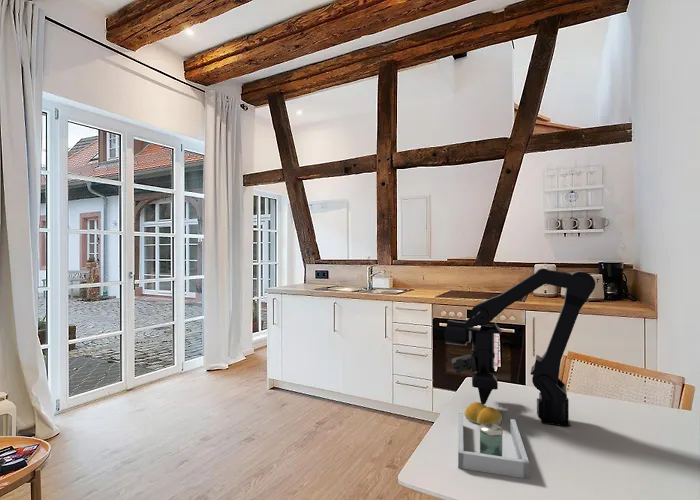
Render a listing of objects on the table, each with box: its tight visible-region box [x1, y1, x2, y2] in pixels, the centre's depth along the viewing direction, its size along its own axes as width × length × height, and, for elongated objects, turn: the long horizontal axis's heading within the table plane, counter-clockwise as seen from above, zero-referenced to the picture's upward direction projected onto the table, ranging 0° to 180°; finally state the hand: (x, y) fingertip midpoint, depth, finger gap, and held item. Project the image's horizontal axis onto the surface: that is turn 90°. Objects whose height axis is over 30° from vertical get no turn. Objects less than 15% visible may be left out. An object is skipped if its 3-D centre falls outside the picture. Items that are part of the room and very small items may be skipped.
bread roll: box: [463, 401, 503, 426], centre depth 99 cm, size 8×9×4 cm
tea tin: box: [479, 423, 504, 457], centre depth 80 cm, size 5×5×6 cm
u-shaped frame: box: [457, 412, 530, 480], centre depth 84 cm, size 13×20×3 cm, turn 164°
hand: (483, 403), depth 107 cm, fingers closed
